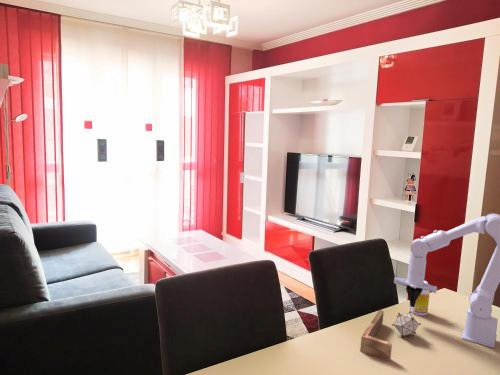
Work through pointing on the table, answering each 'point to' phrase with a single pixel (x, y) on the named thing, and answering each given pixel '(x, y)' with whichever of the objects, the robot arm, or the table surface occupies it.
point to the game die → (406, 324)
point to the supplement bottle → (421, 303)
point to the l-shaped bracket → (375, 340)
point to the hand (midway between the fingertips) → (412, 305)
